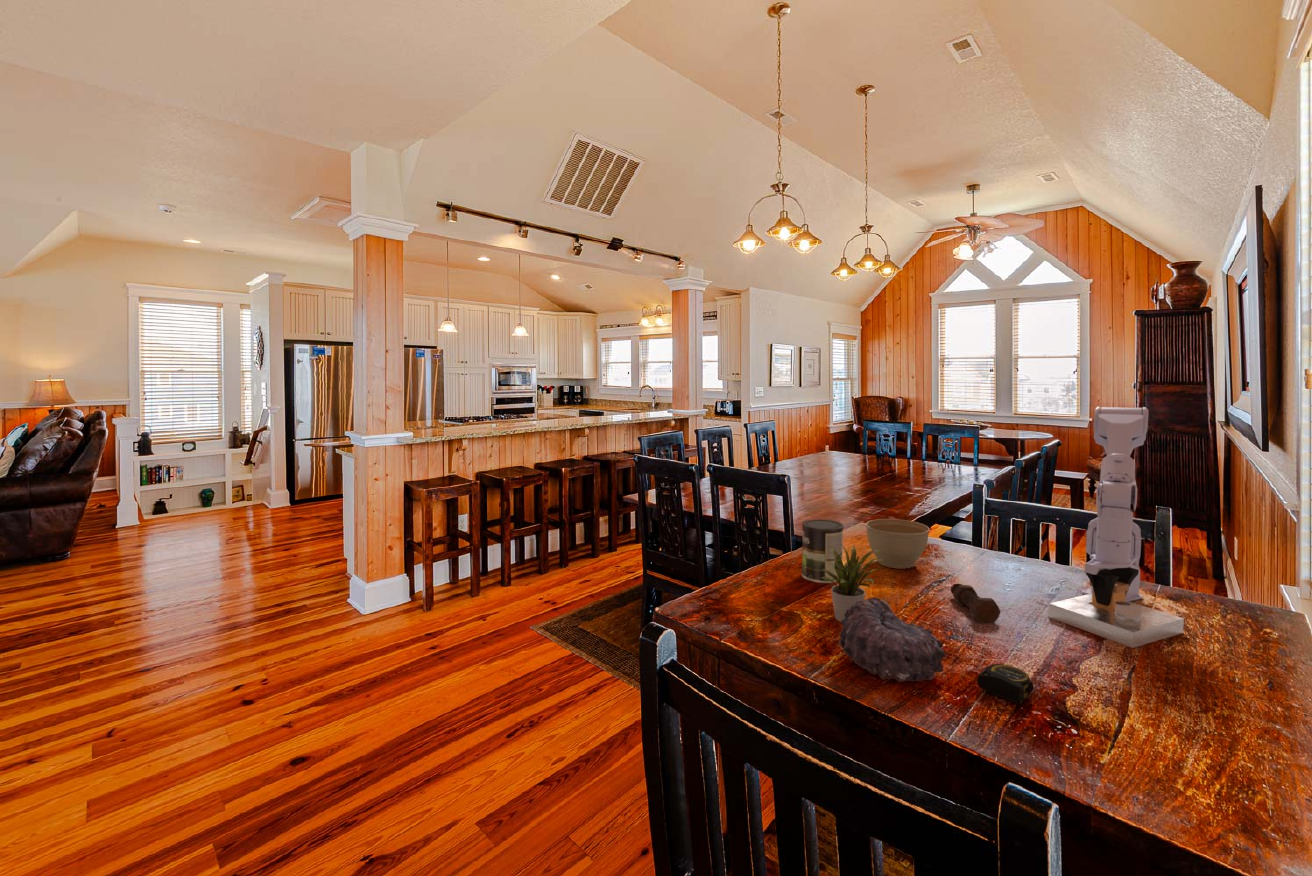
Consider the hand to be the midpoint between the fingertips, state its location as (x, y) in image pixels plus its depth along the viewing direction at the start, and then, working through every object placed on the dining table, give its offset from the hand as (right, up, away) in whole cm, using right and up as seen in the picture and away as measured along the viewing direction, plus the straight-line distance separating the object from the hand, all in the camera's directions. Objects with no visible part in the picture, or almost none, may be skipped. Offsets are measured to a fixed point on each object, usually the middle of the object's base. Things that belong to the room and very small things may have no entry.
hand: (1109, 602), depth 123 cm
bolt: (-25, -4, +7) cm, 27 cm away
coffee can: (-52, -2, +30) cm, 60 cm away
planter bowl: (-29, -1, +39) cm, 49 cm away
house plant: (-53, -5, +3) cm, 53 cm away
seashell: (-53, -7, -17) cm, 56 cm away
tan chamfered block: (0, -2, 0) cm, 2 cm away
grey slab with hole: (-1, -4, -2) cm, 5 cm away
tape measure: (-39, -8, -28) cm, 48 cm away
